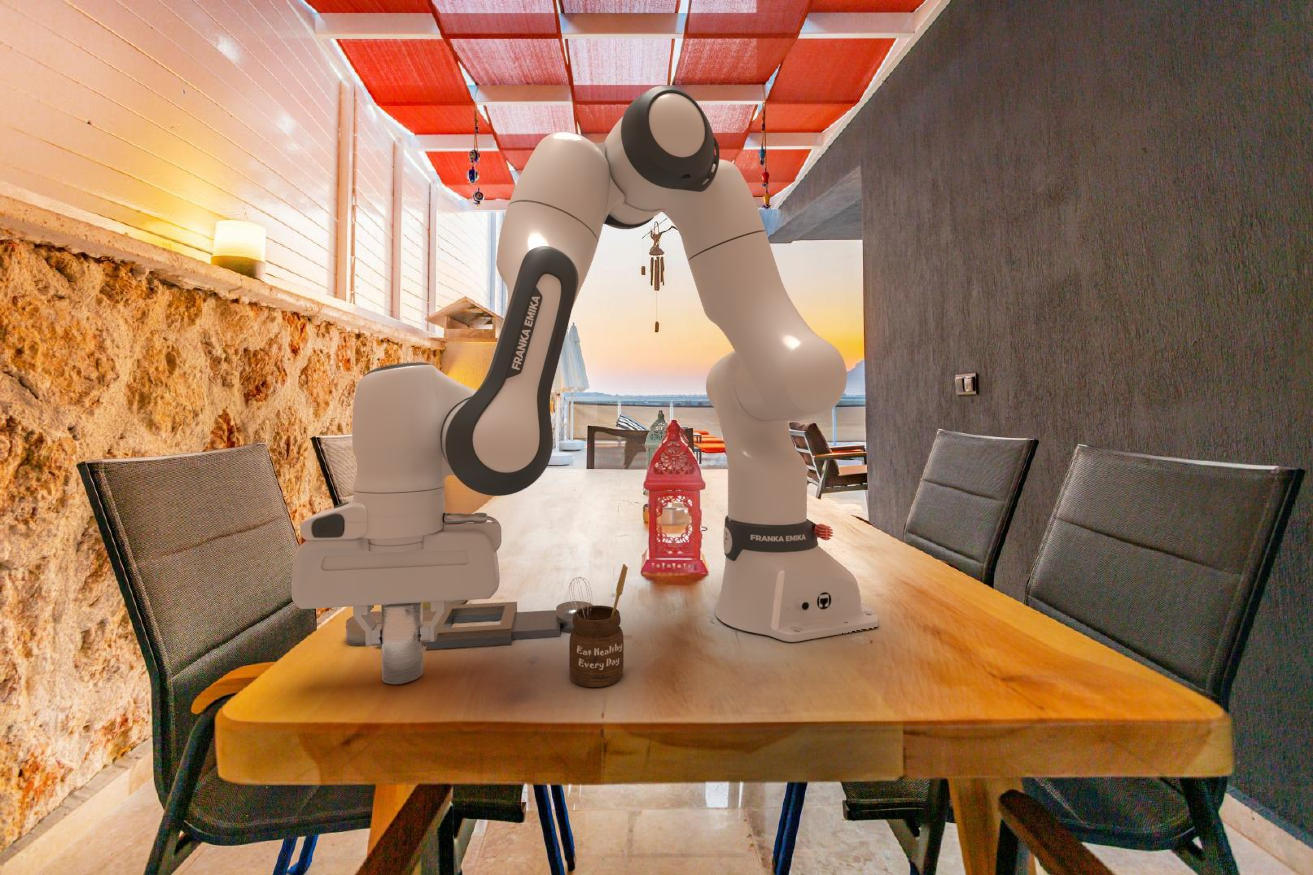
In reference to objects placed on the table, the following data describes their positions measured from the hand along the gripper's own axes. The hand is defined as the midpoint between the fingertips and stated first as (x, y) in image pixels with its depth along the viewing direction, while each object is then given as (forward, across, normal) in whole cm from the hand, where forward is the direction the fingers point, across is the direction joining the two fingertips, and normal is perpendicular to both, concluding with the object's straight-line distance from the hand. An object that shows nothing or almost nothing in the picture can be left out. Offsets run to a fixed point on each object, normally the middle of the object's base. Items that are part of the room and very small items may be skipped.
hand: (402, 641), depth 59 cm
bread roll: (+4, +2, -25) cm, 25 cm away
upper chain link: (+4, -1, -12) cm, 13 cm away
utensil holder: (+4, -21, +3) cm, 21 cm away
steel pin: (+4, 0, 0) cm, 4 cm away
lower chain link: (+4, -11, -12) cm, 17 cm away
